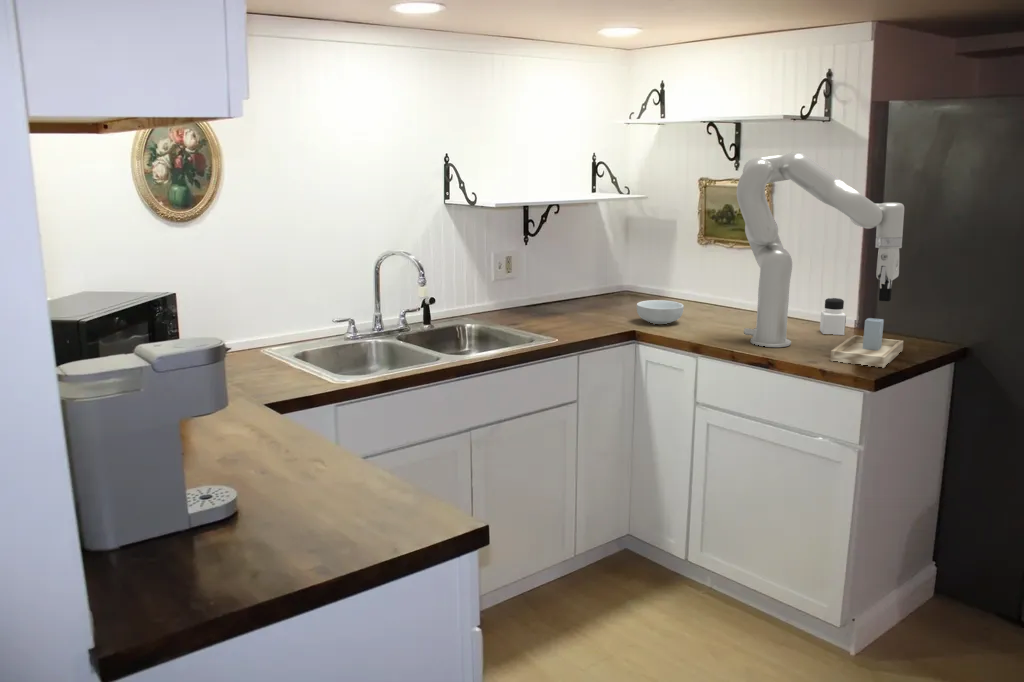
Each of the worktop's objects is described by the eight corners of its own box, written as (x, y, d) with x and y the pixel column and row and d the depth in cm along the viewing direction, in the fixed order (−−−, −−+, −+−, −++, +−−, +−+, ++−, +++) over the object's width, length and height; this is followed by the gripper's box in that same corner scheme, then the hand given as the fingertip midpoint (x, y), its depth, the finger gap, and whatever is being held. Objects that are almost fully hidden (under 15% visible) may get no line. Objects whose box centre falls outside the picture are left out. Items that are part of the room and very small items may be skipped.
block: (862, 348, 261) (865, 320, 259) (866, 345, 264) (868, 317, 262) (877, 350, 258) (880, 321, 256) (881, 347, 262) (883, 319, 260)
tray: (830, 361, 251) (831, 350, 250) (852, 344, 271) (853, 335, 271) (883, 368, 242) (884, 357, 241) (902, 350, 263) (903, 340, 262)
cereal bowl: (632, 326, 303) (633, 306, 301) (639, 317, 318) (640, 299, 317) (680, 328, 298) (681, 309, 296) (685, 319, 313) (685, 301, 312)
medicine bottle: (844, 335, 285) (847, 300, 282) (822, 334, 286) (825, 300, 284) (841, 331, 292) (843, 297, 289) (819, 330, 293) (822, 296, 291)
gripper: (896, 245, 253) (892, 305, 257) (906, 240, 265) (902, 297, 269) (870, 244, 257) (866, 303, 261) (881, 240, 269) (877, 296, 273)
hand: (884, 300), depth 265 cm, fingers closed
